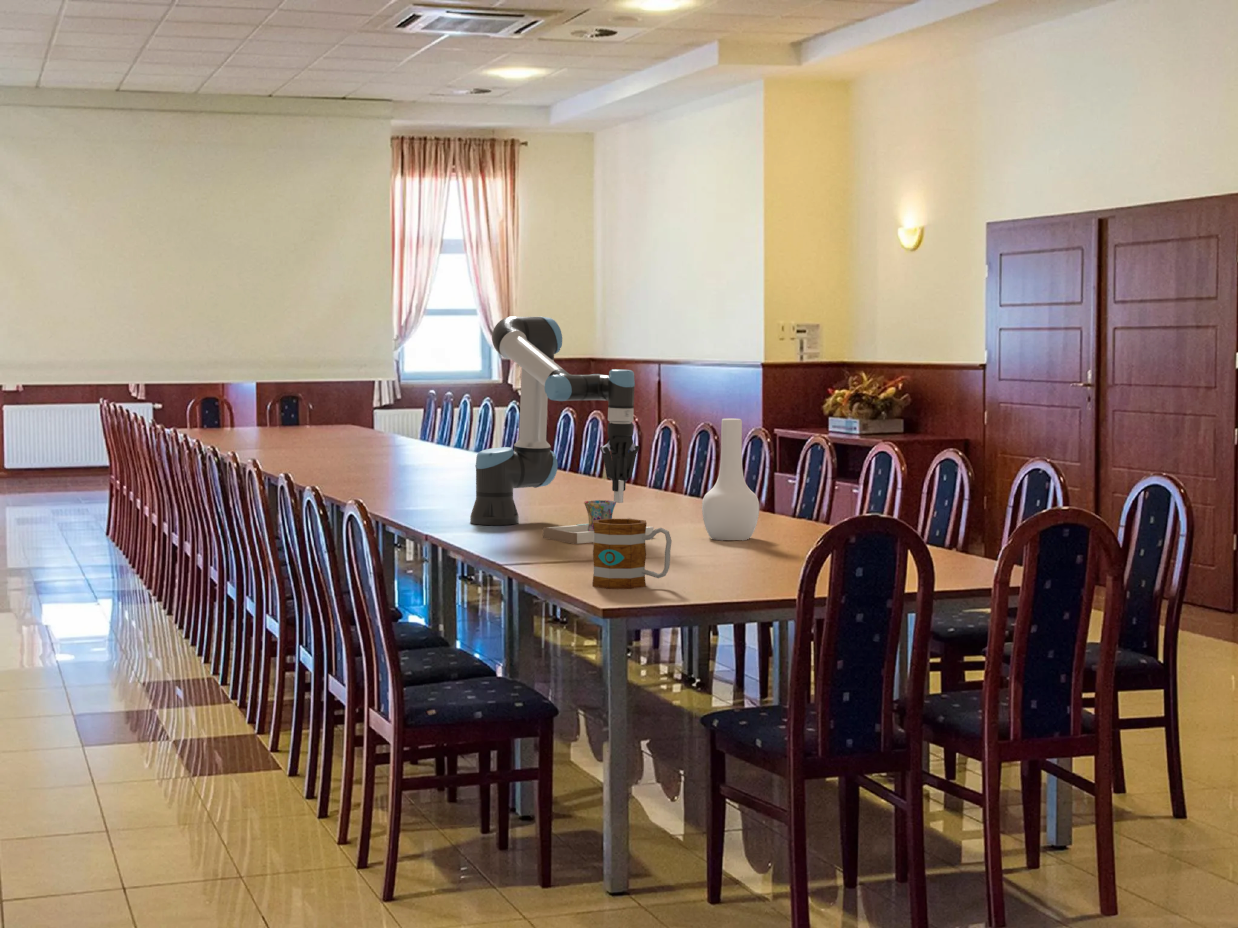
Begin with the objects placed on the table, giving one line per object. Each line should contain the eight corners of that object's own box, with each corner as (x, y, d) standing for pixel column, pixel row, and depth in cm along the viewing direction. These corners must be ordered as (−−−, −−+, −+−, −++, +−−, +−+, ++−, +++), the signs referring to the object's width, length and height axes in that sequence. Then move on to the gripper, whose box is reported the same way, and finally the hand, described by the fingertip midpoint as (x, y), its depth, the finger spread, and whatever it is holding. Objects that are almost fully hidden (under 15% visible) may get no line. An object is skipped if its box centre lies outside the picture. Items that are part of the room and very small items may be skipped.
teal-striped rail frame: (537, 536, 466) (537, 525, 465) (615, 530, 482) (616, 520, 482) (579, 544, 448) (579, 533, 447) (659, 538, 464) (659, 527, 464)
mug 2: (581, 586, 372) (582, 523, 370) (602, 579, 384) (603, 517, 383) (661, 592, 365) (661, 527, 363) (679, 584, 377) (680, 521, 376)
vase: (734, 543, 453) (736, 421, 451) (689, 538, 465) (691, 418, 462) (770, 538, 466) (772, 419, 463) (725, 533, 477) (727, 417, 474)
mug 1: (617, 539, 459) (617, 503, 458) (585, 540, 458) (585, 503, 457) (613, 534, 471) (613, 499, 470) (582, 535, 470) (582, 499, 469)
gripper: (609, 423, 460) (607, 504, 462) (646, 422, 467) (643, 502, 470) (595, 421, 466) (593, 501, 468) (631, 420, 473) (628, 499, 476)
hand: (618, 502), depth 469 cm, fingers closed
